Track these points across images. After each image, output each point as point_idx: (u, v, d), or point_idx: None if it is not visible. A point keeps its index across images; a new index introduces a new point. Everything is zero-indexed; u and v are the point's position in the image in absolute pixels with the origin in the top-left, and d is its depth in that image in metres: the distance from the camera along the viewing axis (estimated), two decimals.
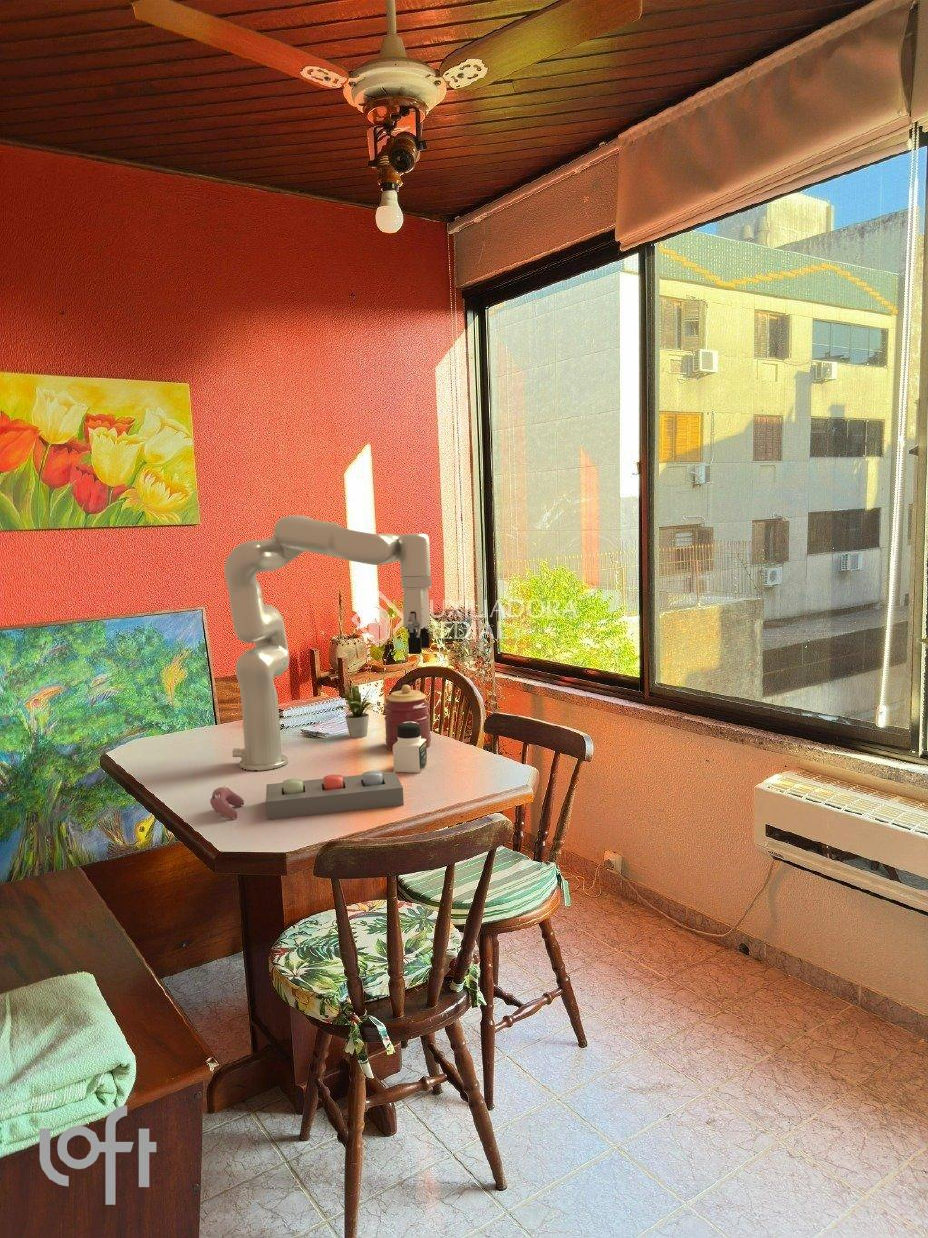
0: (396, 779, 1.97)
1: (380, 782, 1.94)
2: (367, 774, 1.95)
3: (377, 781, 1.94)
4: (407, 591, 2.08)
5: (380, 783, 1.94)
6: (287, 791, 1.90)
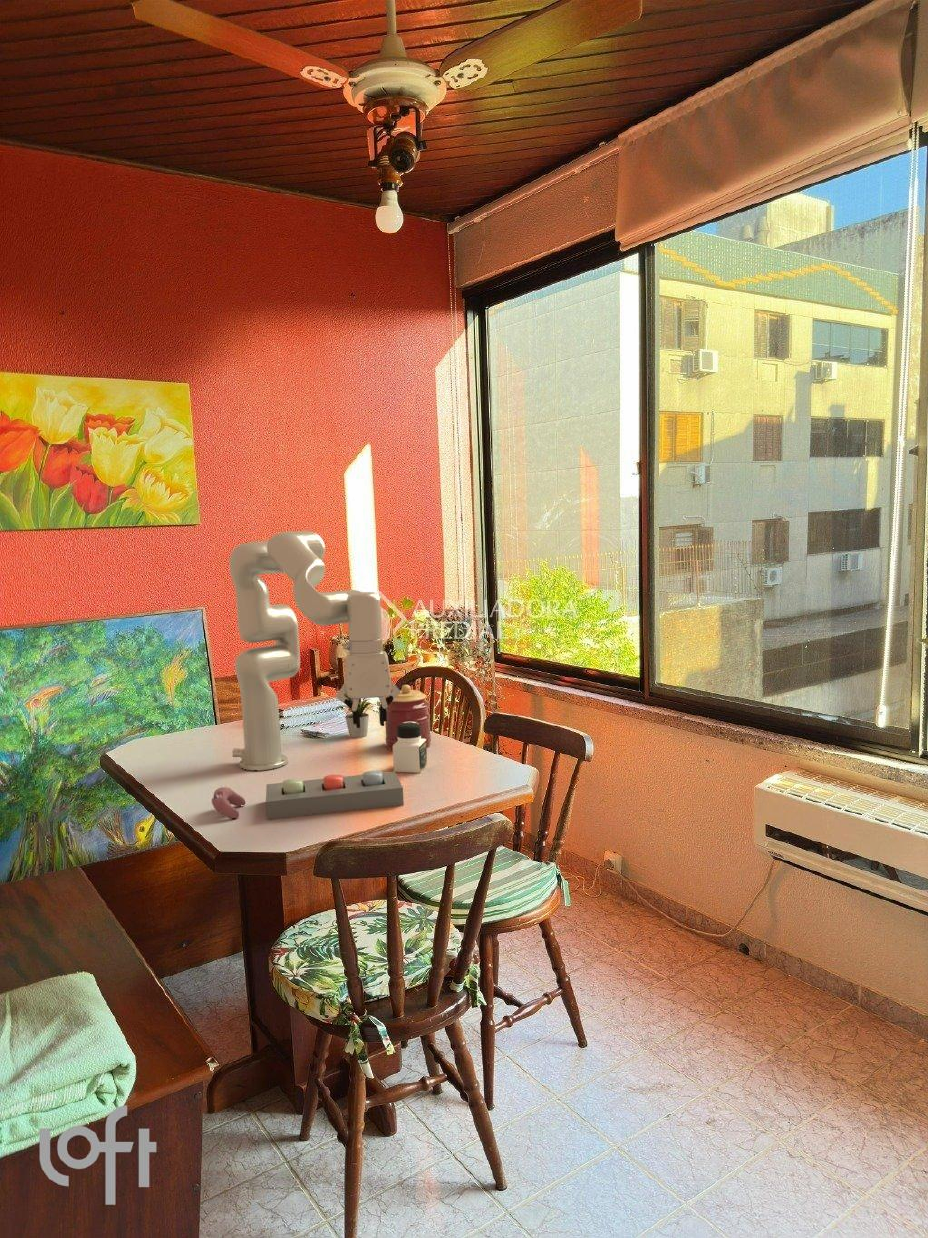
0: (396, 779, 1.97)
1: (380, 782, 1.94)
2: (367, 774, 1.95)
3: (377, 781, 1.94)
4: (386, 654, 1.92)
5: (380, 783, 1.94)
6: (287, 791, 1.90)
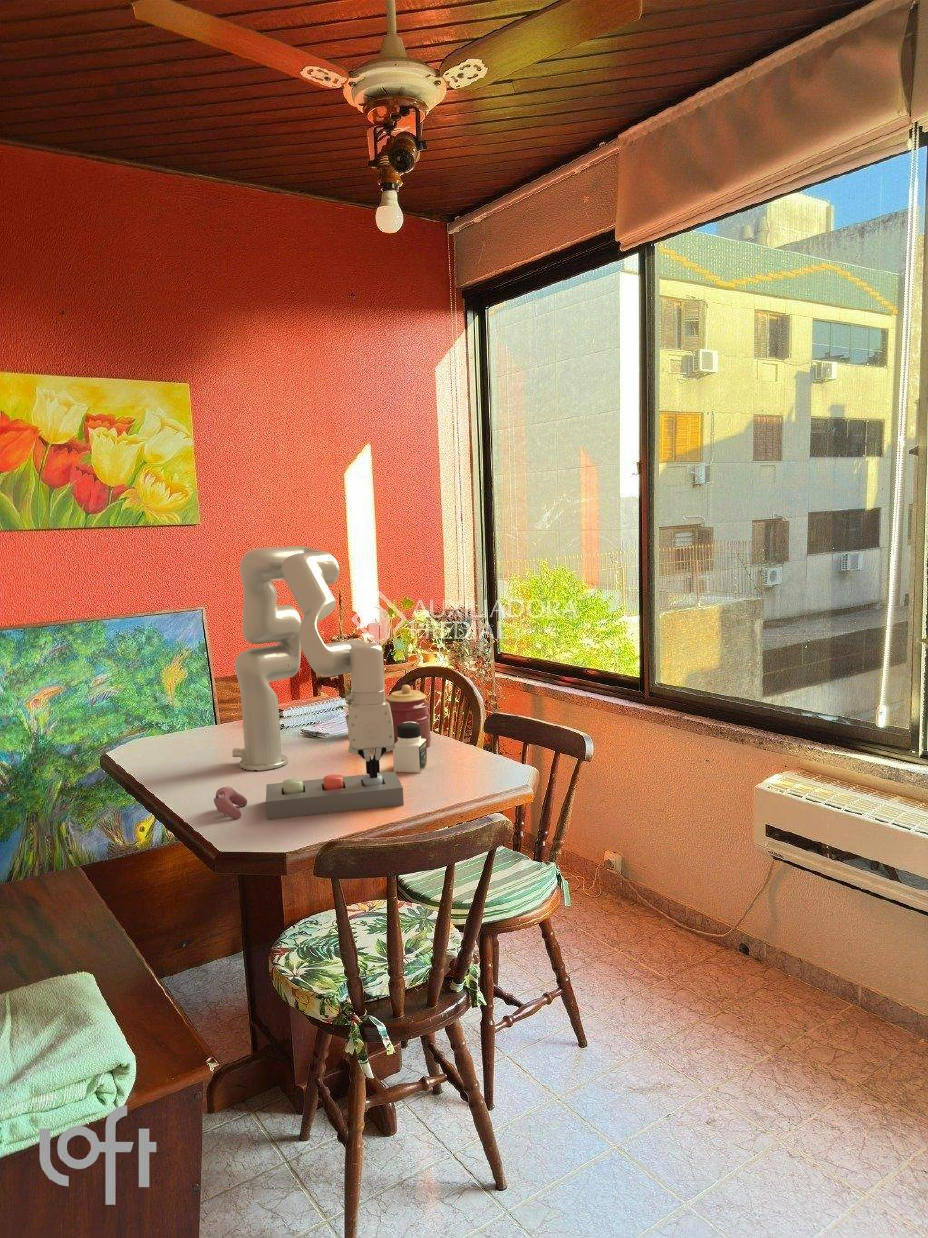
0: (396, 779, 1.97)
1: None
2: (367, 777, 1.95)
3: (377, 784, 1.94)
4: None
5: None
6: (287, 791, 1.90)
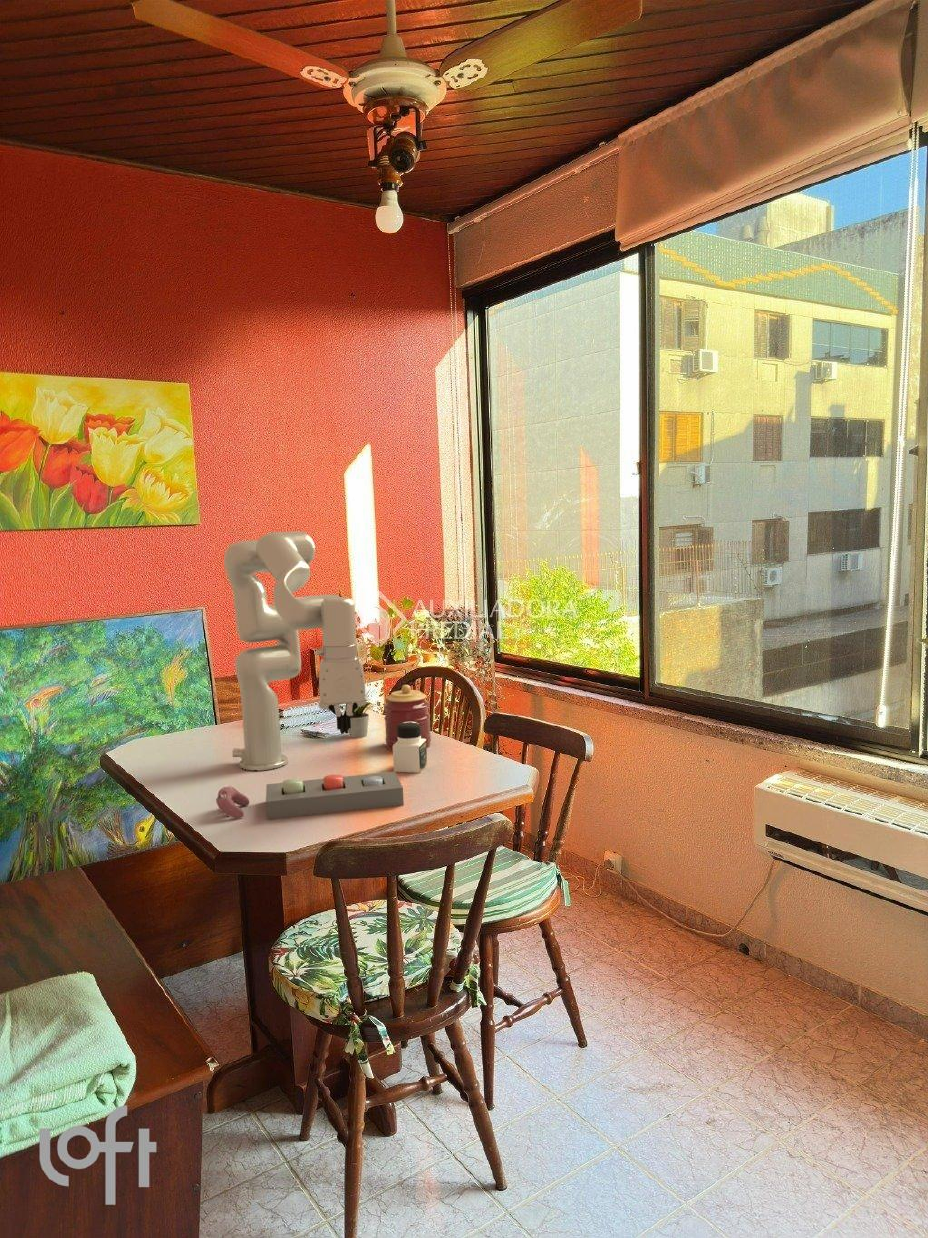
0: (396, 779, 1.97)
1: None
2: (367, 780, 1.95)
3: None
4: (360, 659, 1.91)
5: None
6: (287, 791, 1.90)
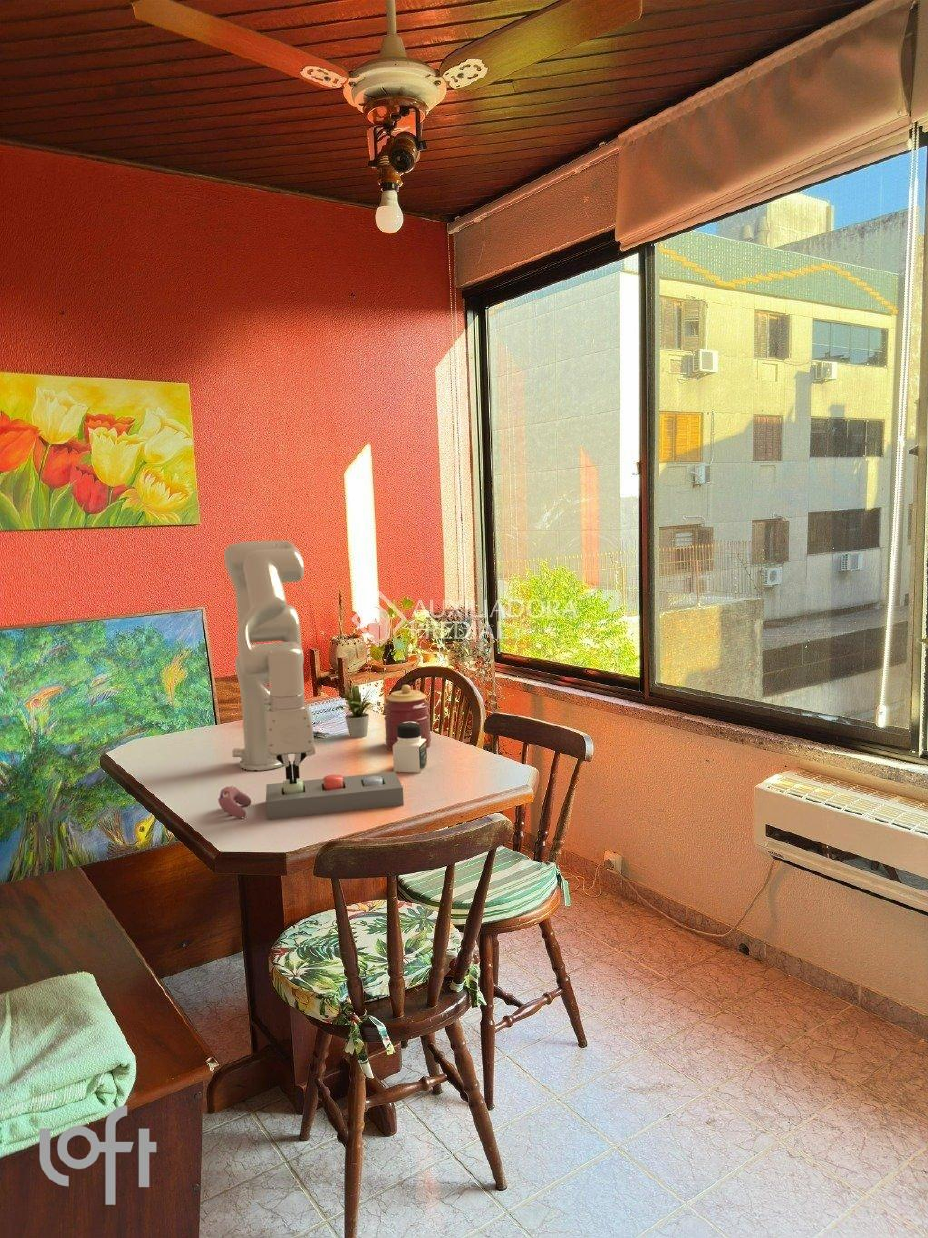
0: (396, 779, 1.97)
1: None
2: (367, 780, 1.95)
3: None
4: (308, 709, 1.89)
5: None
6: (287, 791, 1.90)
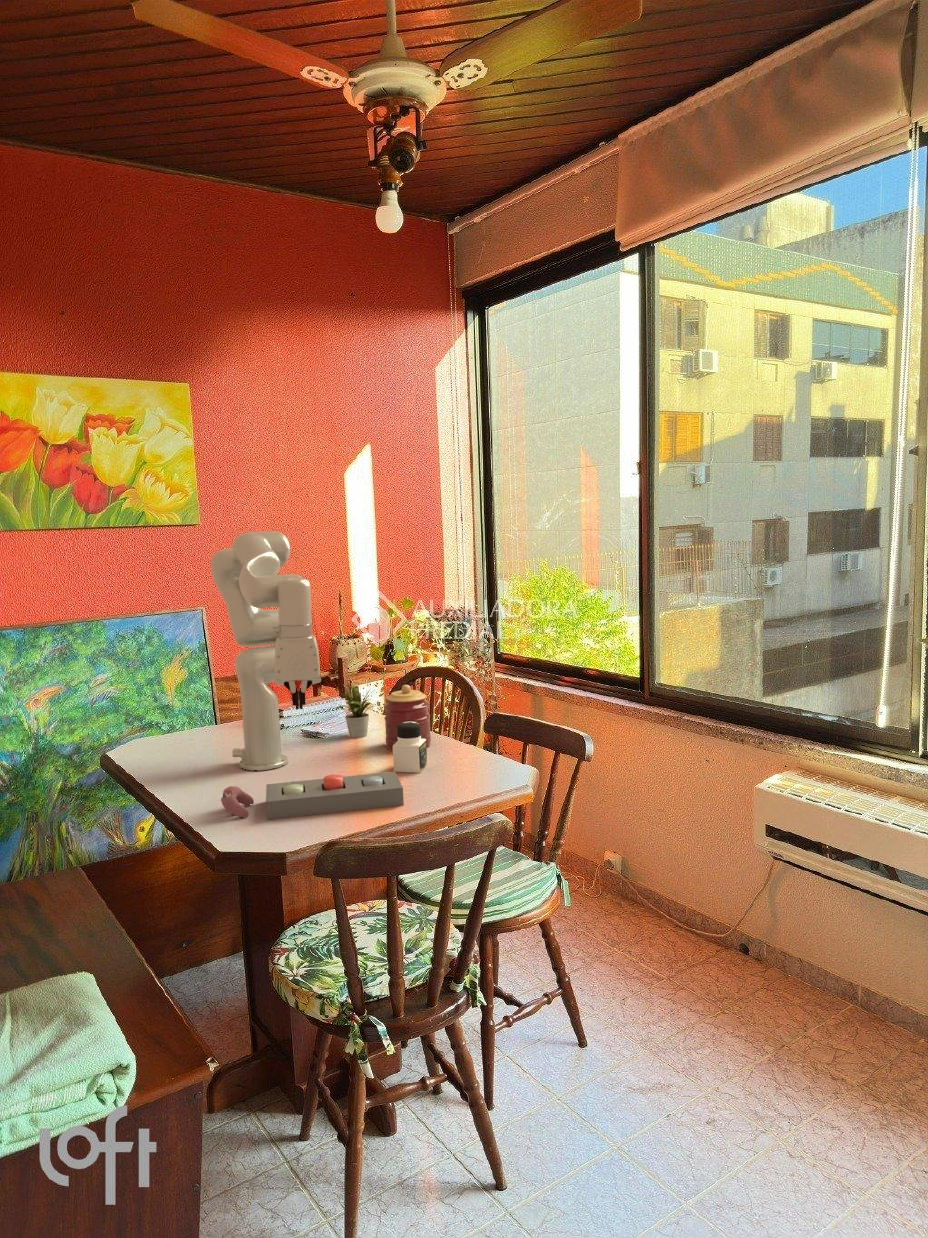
0: (396, 779, 1.97)
1: None
2: (367, 780, 1.95)
3: None
4: (315, 638, 1.97)
5: None
6: None
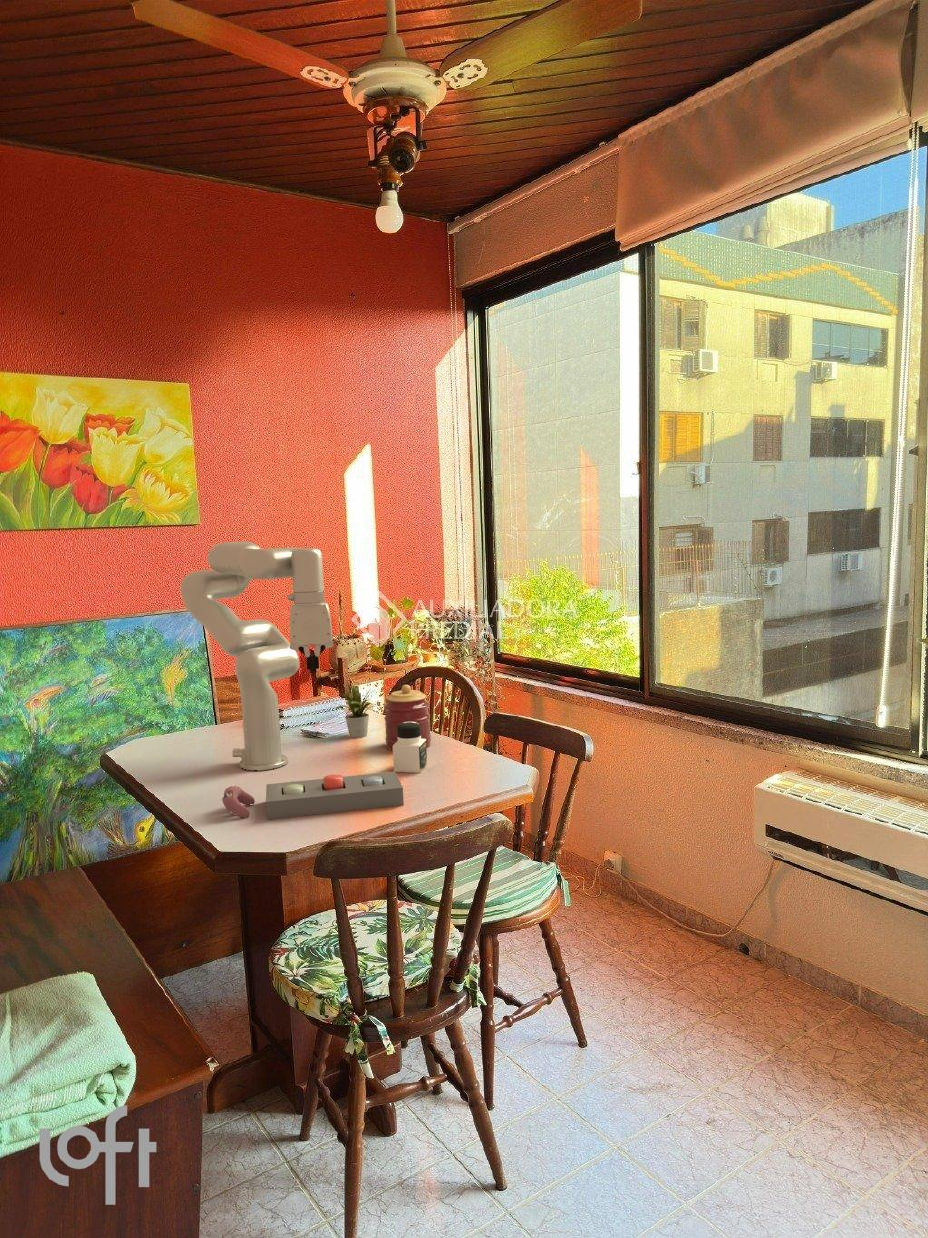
0: (396, 779, 1.97)
1: None
2: (367, 780, 1.95)
3: None
4: (327, 604, 2.09)
5: None
6: None
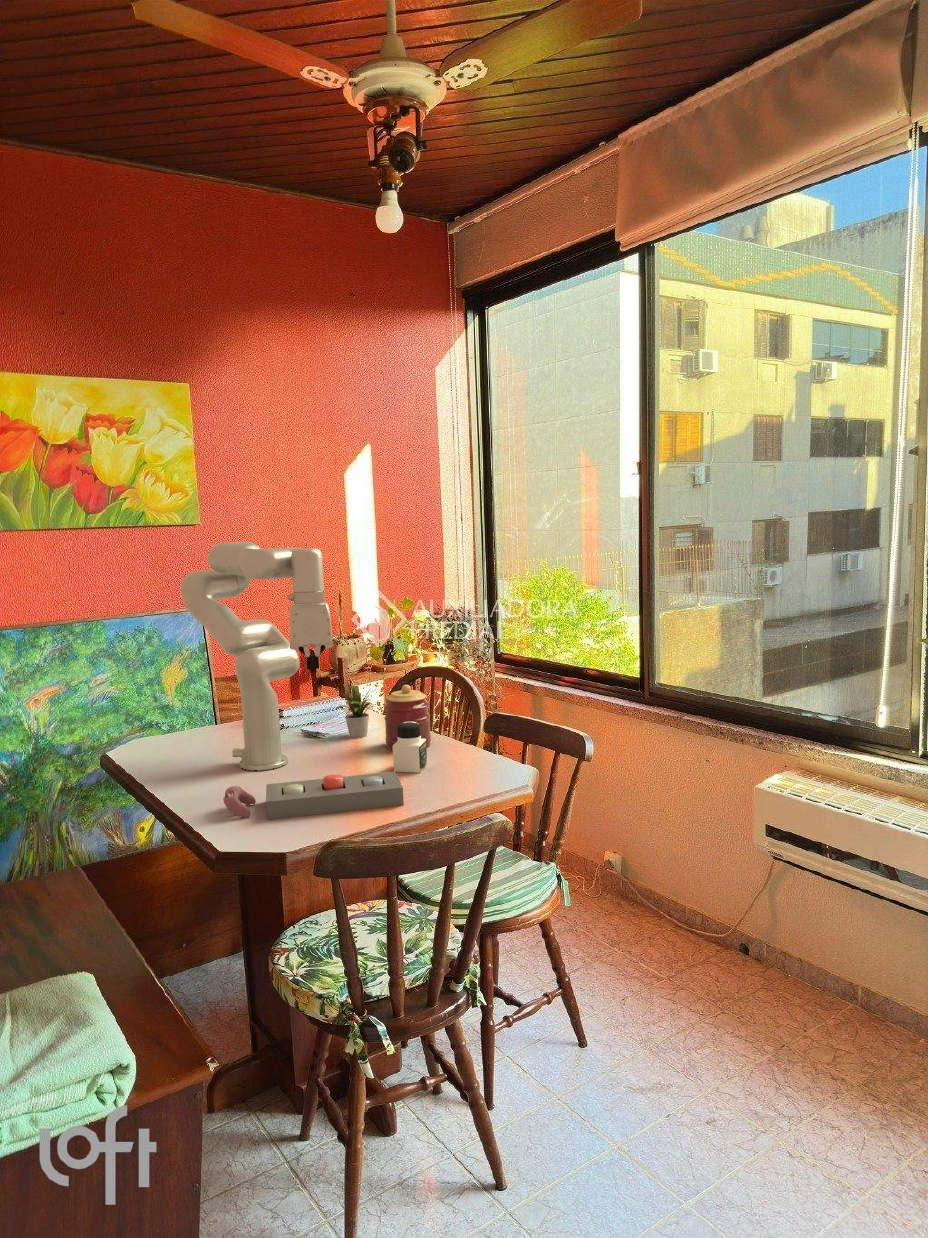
0: (396, 779, 1.97)
1: None
2: (367, 780, 1.95)
3: None
4: (327, 604, 2.09)
5: None
6: None
